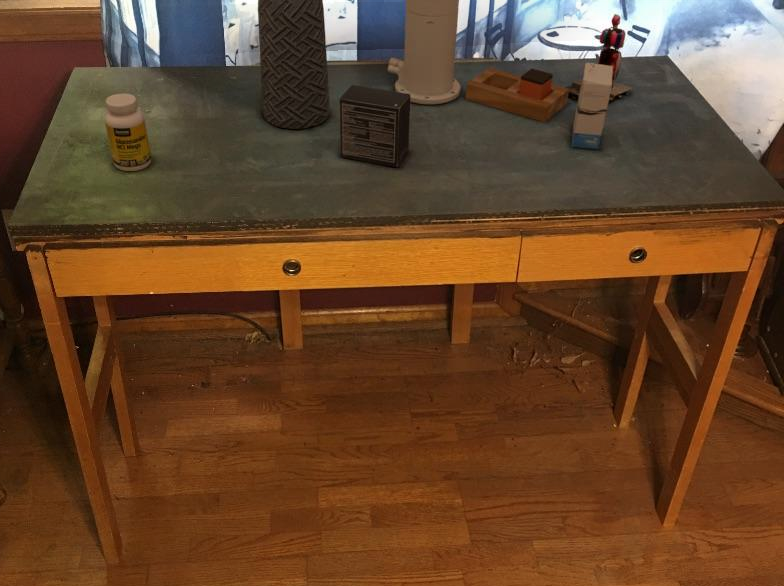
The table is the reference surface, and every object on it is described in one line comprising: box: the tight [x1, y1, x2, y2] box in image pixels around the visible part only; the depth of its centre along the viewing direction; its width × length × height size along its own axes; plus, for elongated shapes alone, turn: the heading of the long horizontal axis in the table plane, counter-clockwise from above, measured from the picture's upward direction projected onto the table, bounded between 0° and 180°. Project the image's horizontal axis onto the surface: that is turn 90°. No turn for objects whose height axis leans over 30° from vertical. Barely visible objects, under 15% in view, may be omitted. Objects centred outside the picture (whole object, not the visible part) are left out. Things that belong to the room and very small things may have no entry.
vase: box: [257, 0, 331, 130], centre depth 147 cm, size 12×12×28 cm
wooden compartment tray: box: [465, 67, 569, 123], centre depth 162 cm, size 9×17×3 cm, turn 56°
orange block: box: [519, 68, 554, 100], centre depth 159 cm, size 4×4×6 cm
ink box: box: [571, 62, 613, 150], centre depth 148 cm, size 8×5×12 cm, turn 168°
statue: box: [566, 13, 633, 102], centre depth 162 cm, size 11×9×15 cm
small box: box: [339, 84, 411, 168], centre depth 143 cm, size 11×6×10 cm, turn 71°
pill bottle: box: [104, 93, 152, 172], centre depth 139 cm, size 6×6×11 cm
